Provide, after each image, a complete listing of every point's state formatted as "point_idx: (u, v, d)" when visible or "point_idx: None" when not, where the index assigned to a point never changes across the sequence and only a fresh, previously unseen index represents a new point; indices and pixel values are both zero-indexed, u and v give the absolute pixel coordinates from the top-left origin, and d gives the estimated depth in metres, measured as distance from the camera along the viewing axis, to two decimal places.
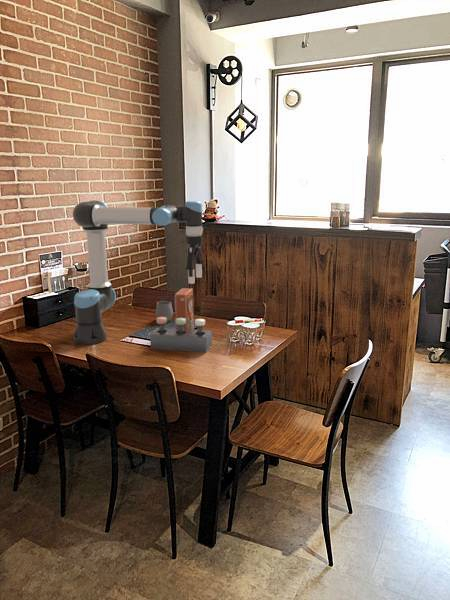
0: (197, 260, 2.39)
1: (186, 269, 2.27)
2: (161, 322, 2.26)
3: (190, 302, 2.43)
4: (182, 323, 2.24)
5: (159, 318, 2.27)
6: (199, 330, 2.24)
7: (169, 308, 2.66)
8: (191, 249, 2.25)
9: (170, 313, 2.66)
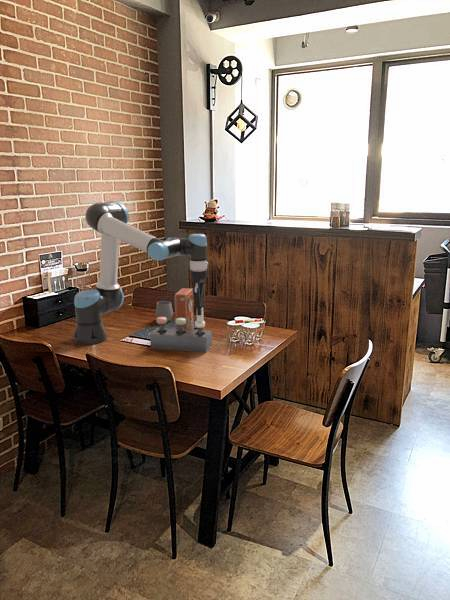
0: None
1: (195, 307, 2.22)
2: (161, 322, 2.26)
3: (190, 302, 2.43)
4: (182, 323, 2.24)
5: (159, 318, 2.27)
6: (199, 332, 2.24)
7: (169, 308, 2.66)
8: (196, 290, 2.14)
9: (170, 313, 2.66)
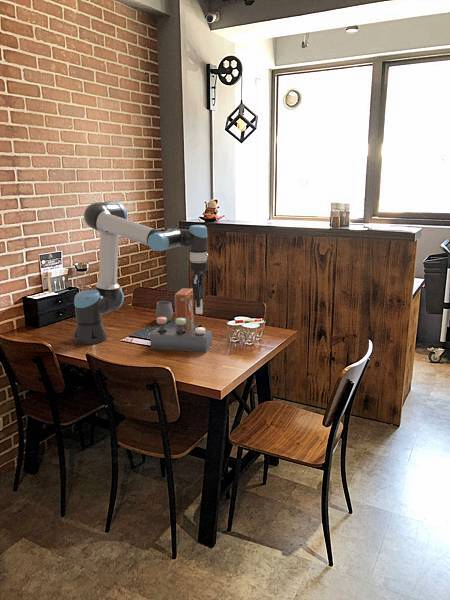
0: None
1: (194, 299, 2.21)
2: (161, 322, 2.26)
3: (190, 302, 2.43)
4: (182, 323, 2.24)
5: (159, 318, 2.27)
6: None
7: (169, 308, 2.66)
8: (196, 282, 2.13)
9: (170, 313, 2.66)
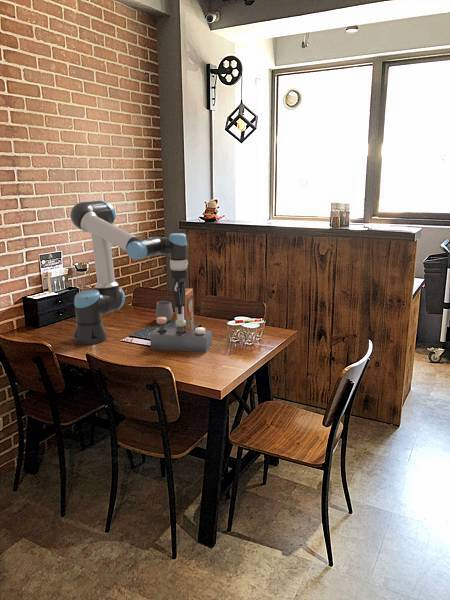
0: None
1: None
2: (161, 322, 2.26)
3: (190, 302, 2.43)
4: (182, 325, 2.24)
5: (159, 318, 2.27)
6: None
7: (169, 308, 2.66)
8: (176, 289, 2.16)
9: (170, 313, 2.66)
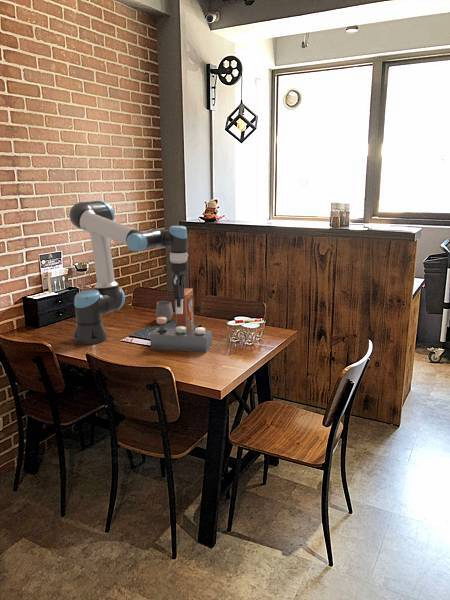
0: None
1: (174, 299, 2.23)
2: (161, 322, 2.26)
3: (190, 302, 2.43)
4: (182, 332, 2.25)
5: (159, 318, 2.27)
6: None
7: (169, 308, 2.66)
8: (175, 282, 2.15)
9: (170, 313, 2.66)
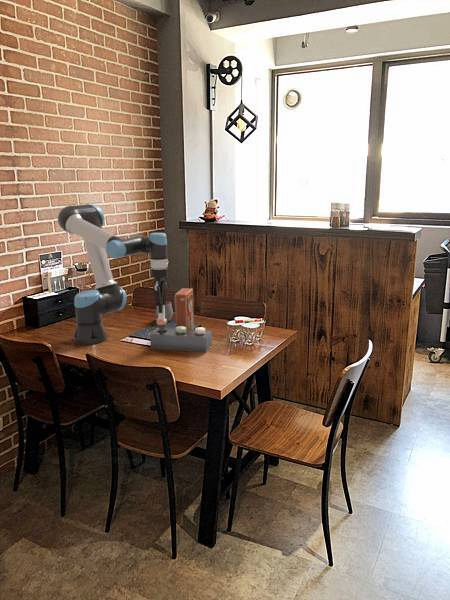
0: None
1: None
2: (161, 323, 2.26)
3: (190, 302, 2.43)
4: (182, 332, 2.25)
5: None
6: None
7: (169, 308, 2.66)
8: (156, 288, 2.18)
9: (170, 313, 2.66)
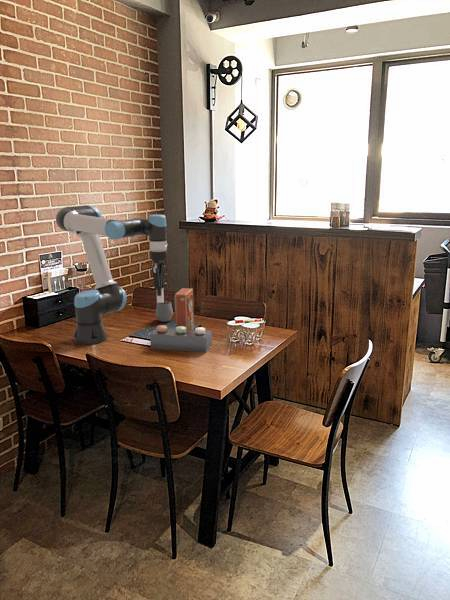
0: None
1: (155, 288, 2.24)
2: (161, 330, 2.27)
3: (190, 302, 2.43)
4: (182, 332, 2.25)
5: (159, 326, 2.28)
6: None
7: (169, 308, 2.66)
8: (155, 270, 2.16)
9: (170, 313, 2.66)
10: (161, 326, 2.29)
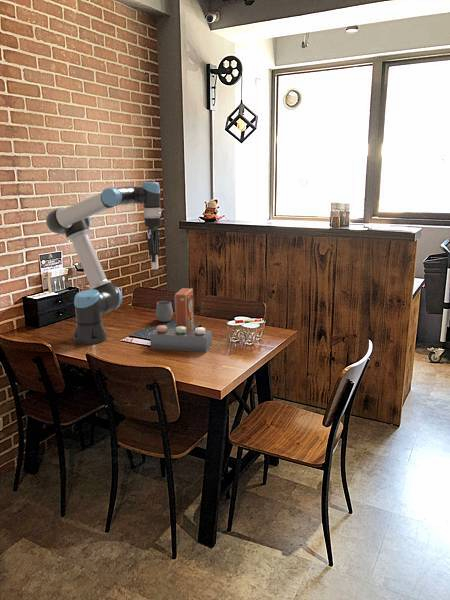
0: None
1: None
2: (161, 330, 2.27)
3: (190, 302, 2.43)
4: (182, 332, 2.25)
5: (159, 326, 2.28)
6: None
7: (169, 308, 2.66)
8: (149, 236, 2.21)
9: (170, 313, 2.66)
10: (161, 326, 2.29)
